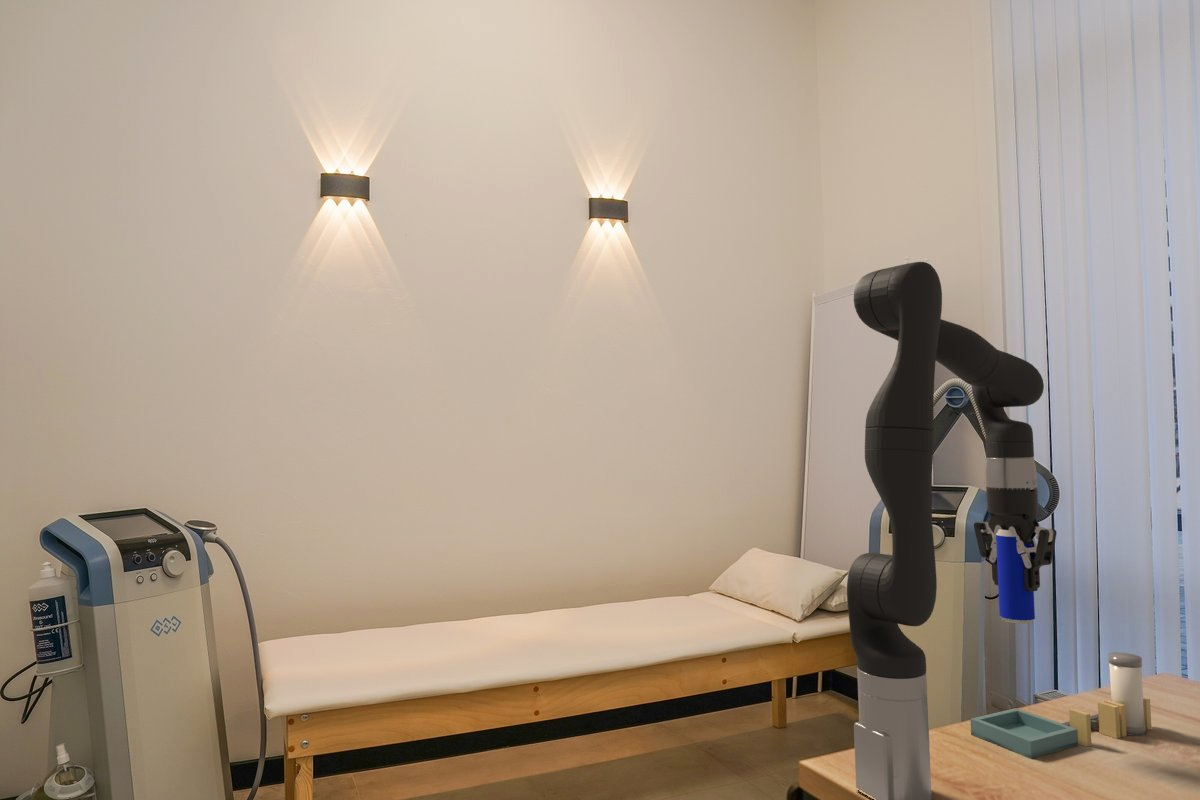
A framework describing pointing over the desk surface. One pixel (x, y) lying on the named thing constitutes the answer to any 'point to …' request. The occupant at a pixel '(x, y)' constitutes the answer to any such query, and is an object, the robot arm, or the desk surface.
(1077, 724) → the fuse block
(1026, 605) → the beverage can
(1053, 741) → the tray
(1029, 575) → the robot arm
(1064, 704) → the desk surface
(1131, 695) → the fuse
